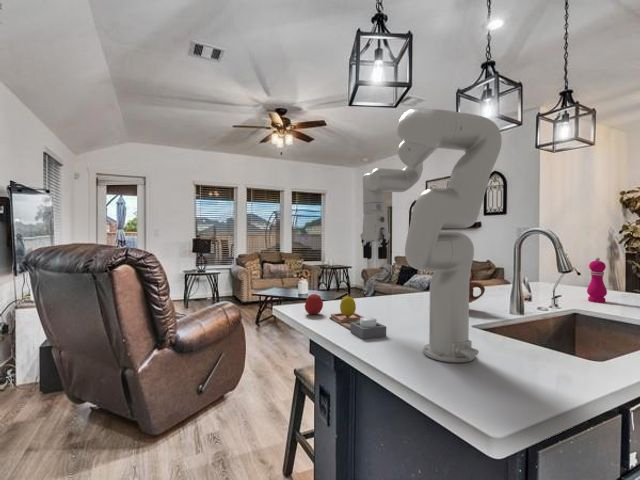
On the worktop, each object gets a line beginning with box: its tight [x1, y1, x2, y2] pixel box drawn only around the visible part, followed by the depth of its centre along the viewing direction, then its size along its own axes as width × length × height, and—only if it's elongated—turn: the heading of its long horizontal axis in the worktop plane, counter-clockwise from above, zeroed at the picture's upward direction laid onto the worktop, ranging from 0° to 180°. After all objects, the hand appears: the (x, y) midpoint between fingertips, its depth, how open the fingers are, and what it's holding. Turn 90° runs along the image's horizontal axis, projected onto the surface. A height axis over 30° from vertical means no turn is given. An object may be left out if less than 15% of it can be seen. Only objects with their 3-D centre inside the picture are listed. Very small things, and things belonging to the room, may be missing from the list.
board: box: [329, 312, 365, 331], centre depth 126 cm, size 19×10×2 cm, turn 22°
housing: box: [350, 321, 387, 340], centre depth 112 cm, size 8×8×3 cm
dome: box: [360, 316, 377, 328], centre depth 112 cm, size 5×5×4 cm
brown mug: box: [469, 276, 486, 304], centre depth 148 cm, size 20×12×14 cm, turn 53°
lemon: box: [339, 295, 357, 318], centre depth 130 cm, size 6×6×8 cm
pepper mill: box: [586, 256, 608, 304], centre depth 165 cm, size 7×7×20 cm
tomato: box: [303, 293, 324, 316], centre depth 140 cm, size 8×8×8 cm
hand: (374, 258), depth 126 cm, fingers open, 9 cm apart
